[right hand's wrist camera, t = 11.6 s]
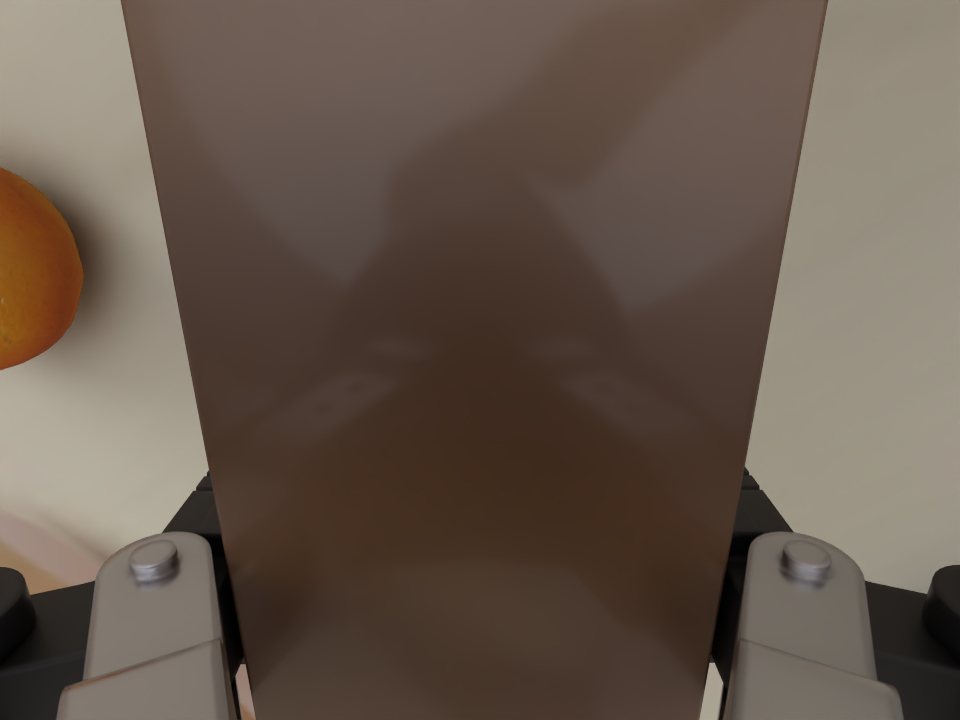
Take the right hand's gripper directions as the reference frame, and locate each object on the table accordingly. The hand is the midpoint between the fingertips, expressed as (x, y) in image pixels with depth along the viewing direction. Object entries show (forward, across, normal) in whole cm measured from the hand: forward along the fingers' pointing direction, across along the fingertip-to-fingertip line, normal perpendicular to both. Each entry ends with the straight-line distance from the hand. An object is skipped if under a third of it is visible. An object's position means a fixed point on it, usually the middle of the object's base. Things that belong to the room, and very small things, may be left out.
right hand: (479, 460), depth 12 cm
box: (+7, 0, +10) cm, 12 cm away
